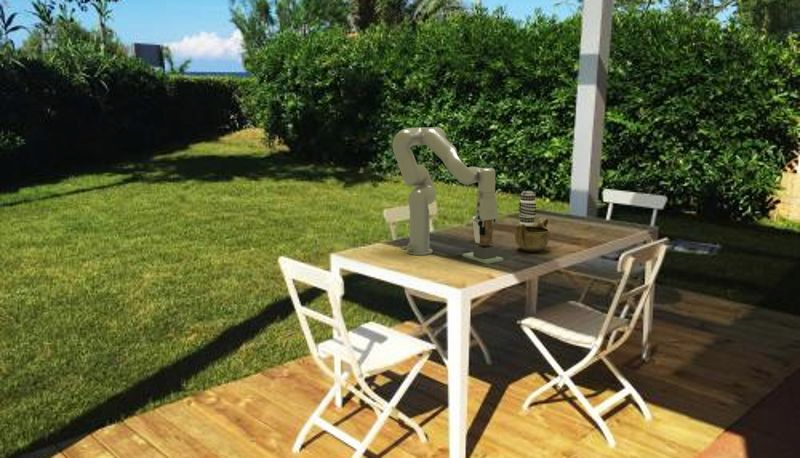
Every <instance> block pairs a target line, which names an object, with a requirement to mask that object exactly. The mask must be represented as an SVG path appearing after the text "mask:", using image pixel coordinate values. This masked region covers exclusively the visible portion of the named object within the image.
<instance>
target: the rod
mask: <svg viewBox="0 0 800 458" xmlns="http://www.w3.org/2000/svg"><path fill="white" fill-rule="evenodd" d="M481 223H482V222H481ZM484 227H485V235H480V243H479V245H481V244H482V245H493V234H492V220H487V221H485V224H484Z"/></svg>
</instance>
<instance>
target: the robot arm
mask: <svg viewBox="0 0 800 458" xmlns="http://www.w3.org/2000/svg"><path fill="white" fill-rule="evenodd" d="M446 135H447V134H446V132H445V131H444V129H443V128H441V127H437V126H436V127H435V126H432V127H409V128H408V127H407V128H403V129H401V130H399V131H398V132H397V133H396V134H395V136H394V137H393V140H392V151H393V153H394V157H395V159H396V161H397V165H398V168H399V170H400V173H401V175H402V178H403V181H404V183H405V184H406V185H407V186H410V187H414V188H413V190H411V191H410V192H409V195H408V197H407V199H408V208H409V242H408V243H407V245H403V246H401V251H406V253H407V254H409V255H414V256H426V255H430V254H433V248H430V229H431V227H430V223H431V222H430V220H431V219H430V216H431V215H430V209H429V208H430V207H429V205H431V204H433V203H434V202H435V201H436V199H437V193H436V189H435V186H434V183H433V180H432V178H431V175H430V172H429V171H428V169H427V168H426V166H424V165H422V164H418V162H417V161H416V158H415V155H414V152H413V151H412V150H411V147H415V146H427V147H428V148H429V149H430V150H431V152H433V153H435V155H436V157H438V158H439V159H441V161H442V162H443V164H444V166H445V167H446V169H447V171H448V172H449V173H450V174H451V175H452V176H453V177H454V178H455V179H456V180H457V181H458V182H459V183H460V184H462V185H466V186H469V185H472V184H474V183H478V193H477V194H476V196H477V197H478V198H477V200H476V206H475V216H476V217H475V219H474V221H475V222H476V223H477V224H478V226H480V227H479V234H480V235H485V227H484V224H485V221H487V220H492V235H493V234H494V233H493V231H494V229H493V228H494V227H493V226H494V225H495V222H496V221H497V220H498V219H499V211H498V201H497V200H498V199H497V197H496V170H495V168H493V167H479V166H469V167H467V165H466V164H464V162H463V161H462V160H461V159H460V158H459V155H458V153H457V147H455V145H453V144H452V143H451V141H449V140H448V139H447V138H446ZM481 222H482V223H481Z"/></svg>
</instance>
